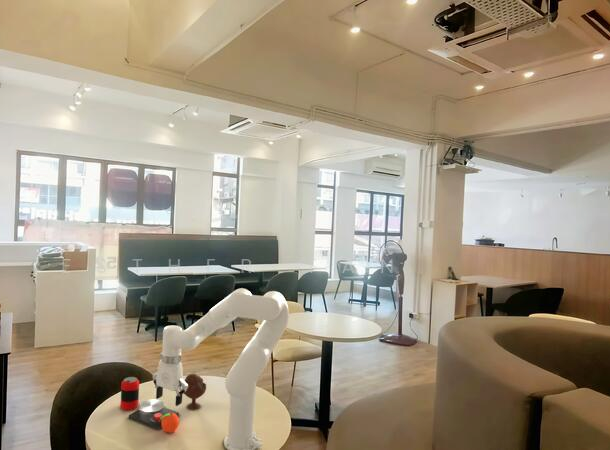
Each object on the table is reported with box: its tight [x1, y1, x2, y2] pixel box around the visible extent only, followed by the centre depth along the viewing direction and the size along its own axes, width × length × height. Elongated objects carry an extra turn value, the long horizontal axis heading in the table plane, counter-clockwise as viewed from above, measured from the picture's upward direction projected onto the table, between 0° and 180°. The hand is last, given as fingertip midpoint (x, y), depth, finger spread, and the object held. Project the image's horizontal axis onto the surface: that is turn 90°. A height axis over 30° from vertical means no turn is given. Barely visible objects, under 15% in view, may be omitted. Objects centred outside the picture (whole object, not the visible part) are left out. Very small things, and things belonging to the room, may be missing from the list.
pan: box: [137, 398, 165, 414], centre depth 157 cm, size 11×11×1 cm
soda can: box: [120, 376, 140, 411], centre depth 163 cm, size 8×8×12 cm
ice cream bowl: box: [182, 373, 207, 411], centre depth 165 cm, size 11×11×15 cm
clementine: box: [159, 413, 180, 433], centre depth 145 cm, size 8×7×7 cm
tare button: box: [154, 413, 162, 421], centre depth 149 cm, size 3×3×2 cm
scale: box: [128, 406, 180, 431], centre depth 155 cm, size 16×14×3 cm
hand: (168, 400), depth 145 cm, fingers open, 9 cm apart
